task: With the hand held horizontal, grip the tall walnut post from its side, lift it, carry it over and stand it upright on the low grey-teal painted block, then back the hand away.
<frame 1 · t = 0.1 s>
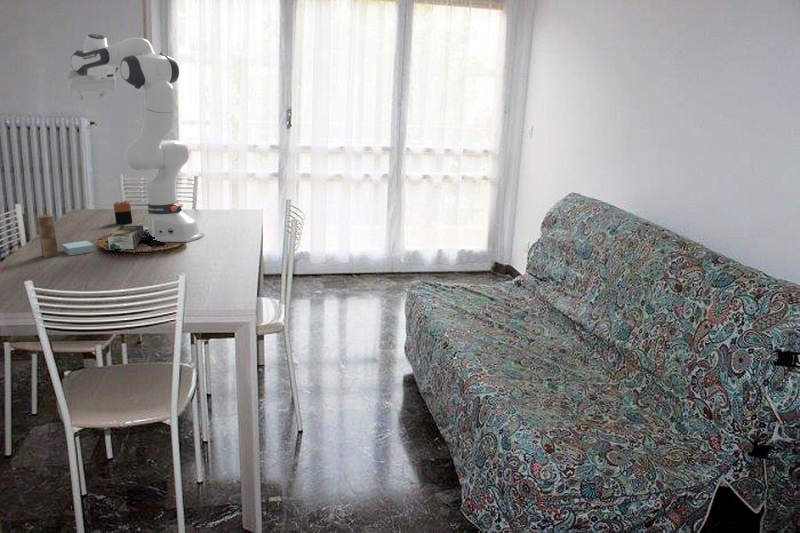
hand: (90, 98, 307), 54 cm above the table, tool tilted 30°, fingers open, 8 cm apart
walnut post: (50, 255, 258), on the table
battery: (124, 223, 311), on the table
teal block: (79, 252, 264), on the table
juice carton: (127, 245, 273), on the table
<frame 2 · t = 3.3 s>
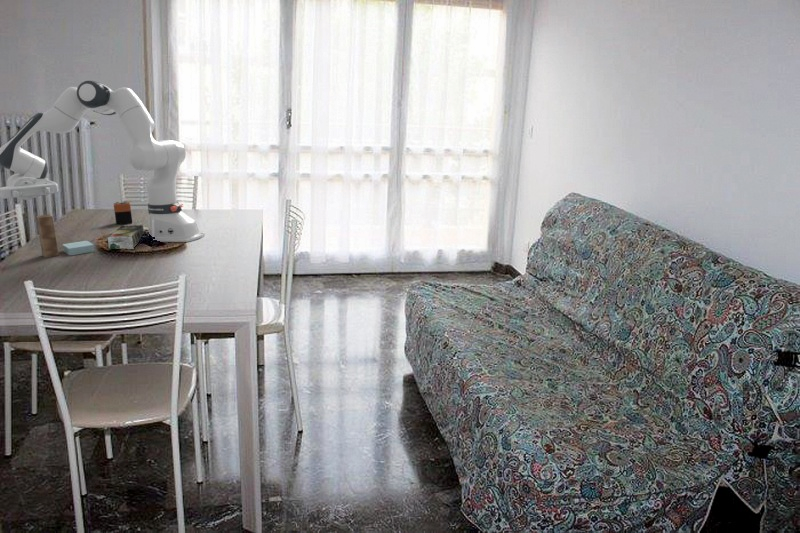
hand: (33, 193, 261), 22 cm above the table, tool horizontal, fingers open, 8 cm apart
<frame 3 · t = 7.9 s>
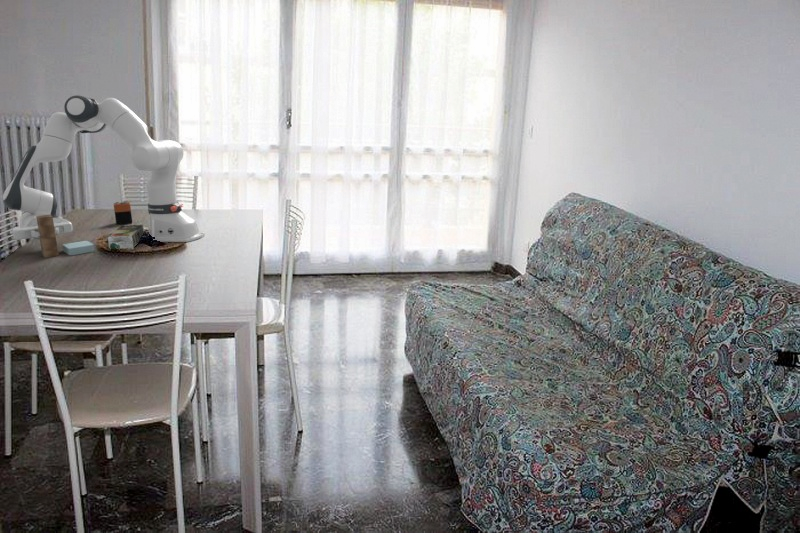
hand: (47, 233, 255), 9 cm above the table, tool horizontal, fingers closed on walnut post, 4 cm apart
walnut post: (50, 255, 258), on the table, touching gripper
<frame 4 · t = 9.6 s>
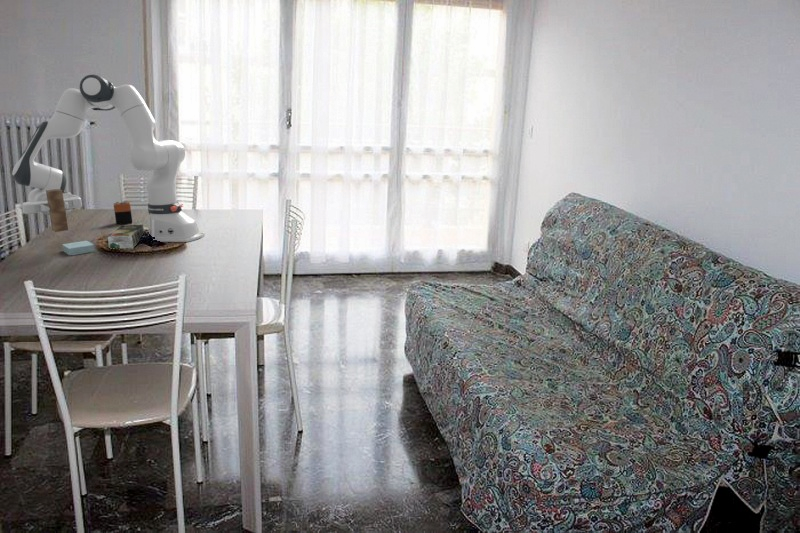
hand: (57, 207, 254), 18 cm above the table, tool horizontal, fingers closed on walnut post, 4 cm apart
walnut post: (60, 230, 257), point 9 cm above the table, touching gripper
when the fingers open (12 cm above the table, at t = 11.7 s): walnut post drops 1 cm, point 2 cm above the table.
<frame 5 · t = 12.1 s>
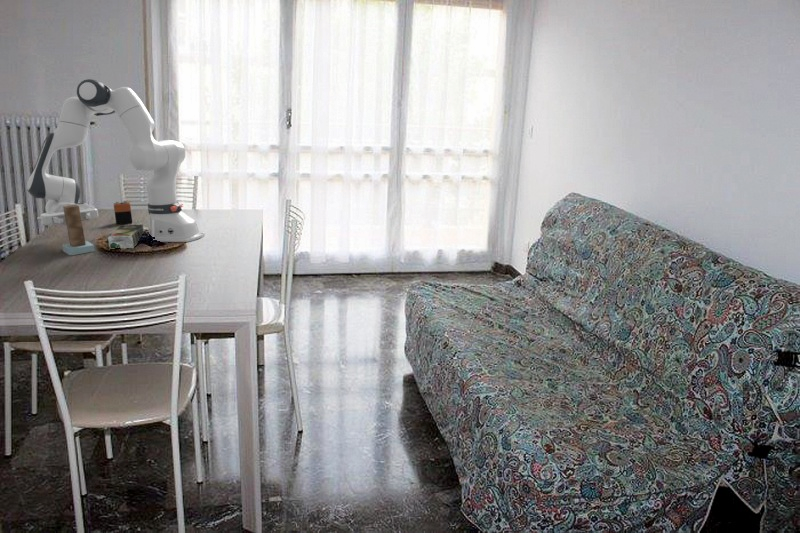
hand: (74, 219, 259), 12 cm above the table, tool horizontal, fingers open, 8 cm apart
walnut post: (77, 244, 263), point 2 cm above the table
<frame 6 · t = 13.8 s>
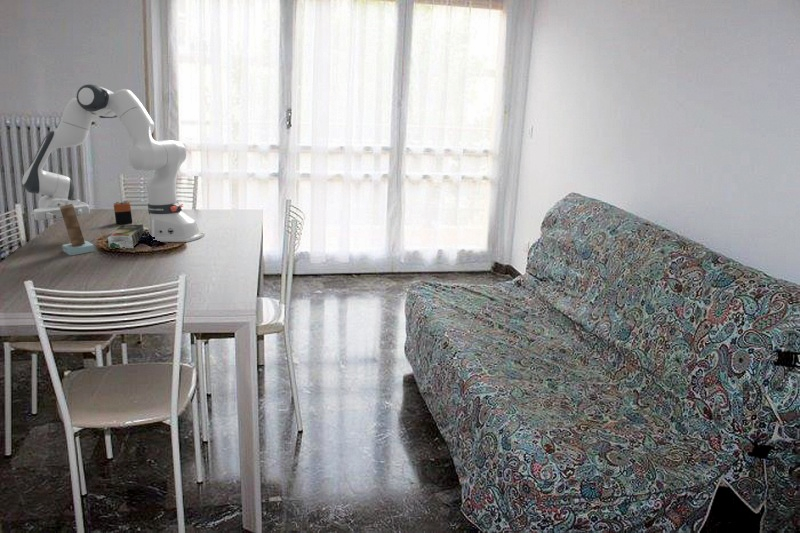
hand: (66, 214, 267), 13 cm above the table, tool horizontal, fingers open, 8 cm apart
walnut post: (78, 243, 263), point 3 cm above the table, tilted 9°, touching teal block
teal block: (79, 252, 264), on the table, touching walnut post
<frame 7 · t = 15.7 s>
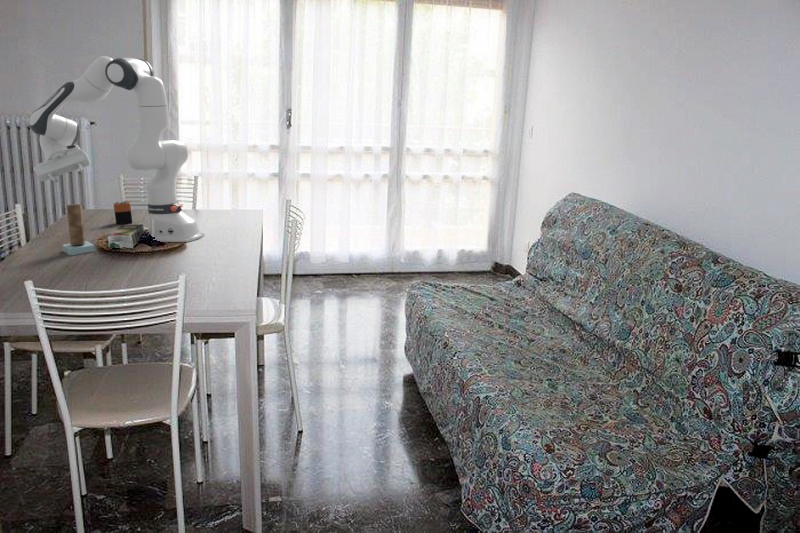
hand: (68, 176, 270), 26 cm above the table, tool tilted 65°, fingers open, 8 cm apart
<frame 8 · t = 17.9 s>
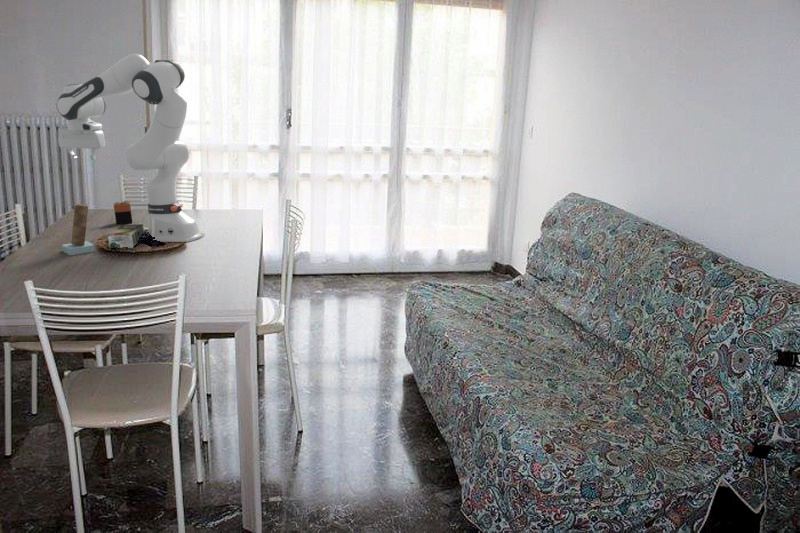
hand: (84, 159, 285), 31 cm above the table, tool pointing down, fingers open, 8 cm apart
walnut post: (77, 243, 263), point 3 cm above the table, tilted 12°, touching teal block
at the end: walnut post inside the target area on the teal block (0.1 cm from its centre), point 3.7 cm above the teal block's base; walnut post tilted 15°; the gripper is holding nothing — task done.
